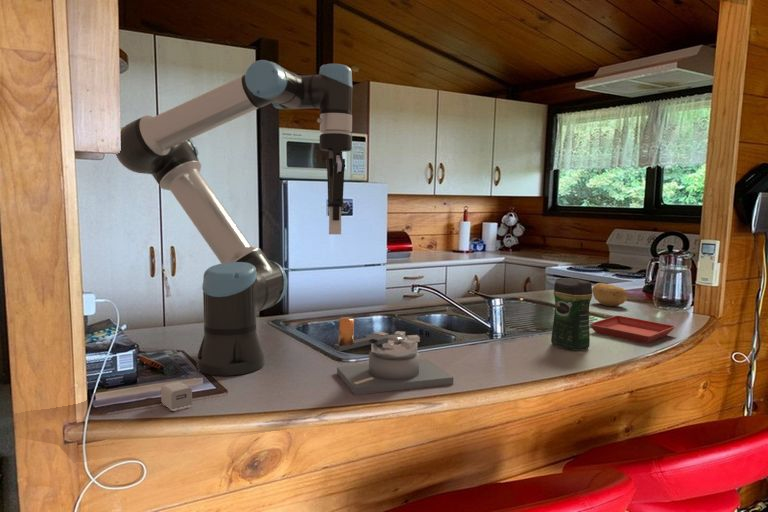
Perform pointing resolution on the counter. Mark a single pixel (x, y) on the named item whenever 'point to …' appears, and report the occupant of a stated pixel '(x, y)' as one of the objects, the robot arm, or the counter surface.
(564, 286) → the coffee jar
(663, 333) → the plant saucer
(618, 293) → the potato
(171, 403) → the usb wall charger
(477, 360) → the counter surface
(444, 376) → the base plate
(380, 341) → the bar with orange knob
